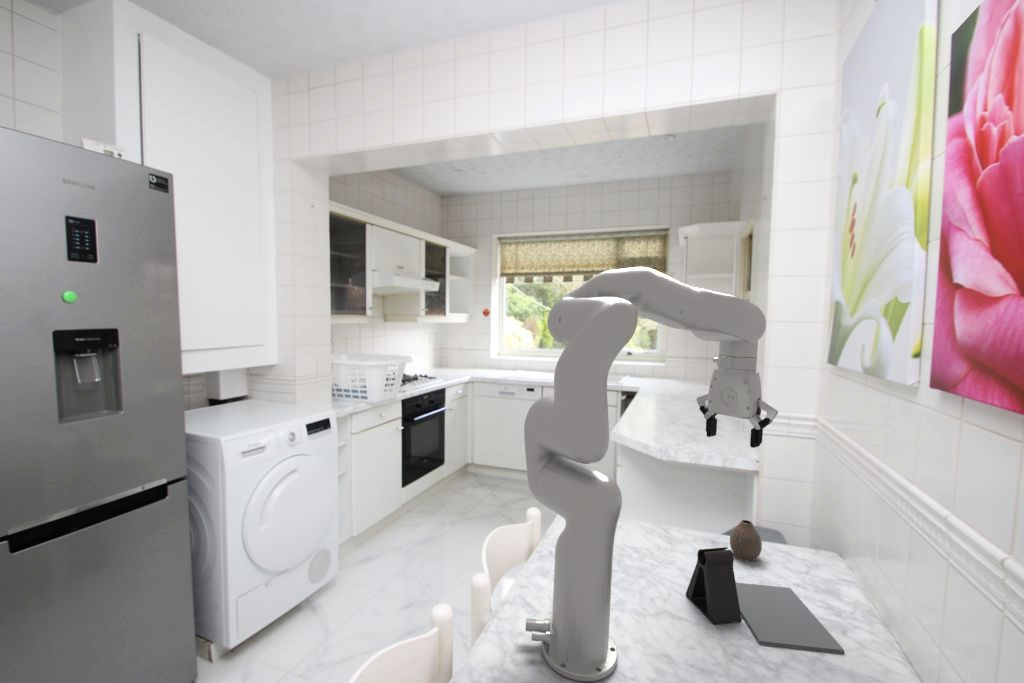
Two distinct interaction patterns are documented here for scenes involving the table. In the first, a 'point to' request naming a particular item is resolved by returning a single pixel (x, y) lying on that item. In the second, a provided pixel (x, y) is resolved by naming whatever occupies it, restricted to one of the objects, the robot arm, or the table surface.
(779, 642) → the mat
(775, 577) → the table surface
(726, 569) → the phone stand
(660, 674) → the table surface
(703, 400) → the robot arm
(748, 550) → the vase
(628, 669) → the table surface
